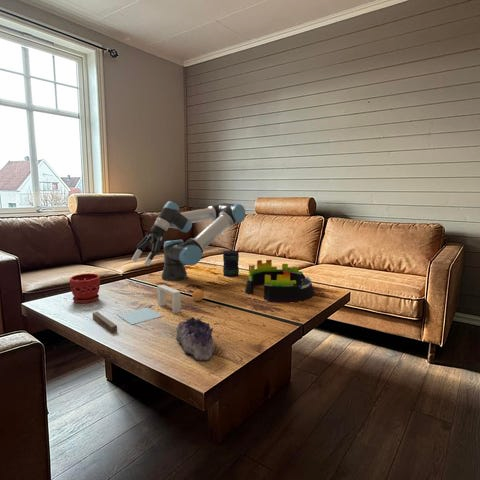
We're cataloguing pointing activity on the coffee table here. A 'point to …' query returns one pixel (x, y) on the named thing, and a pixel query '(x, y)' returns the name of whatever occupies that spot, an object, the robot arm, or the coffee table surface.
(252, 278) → the curved castle wall
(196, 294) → the ball
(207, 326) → the geode
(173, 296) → the bridge
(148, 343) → the coffee table surface
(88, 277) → the plant pot
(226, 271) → the storage jar
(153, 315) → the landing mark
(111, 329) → the wall
